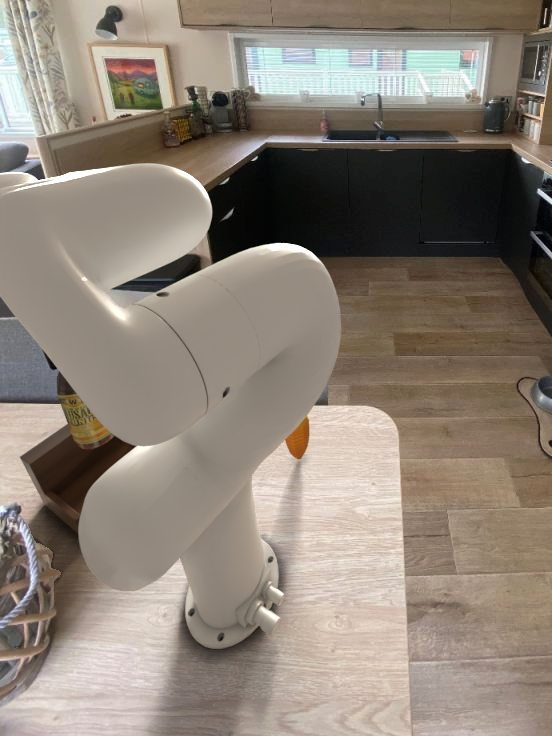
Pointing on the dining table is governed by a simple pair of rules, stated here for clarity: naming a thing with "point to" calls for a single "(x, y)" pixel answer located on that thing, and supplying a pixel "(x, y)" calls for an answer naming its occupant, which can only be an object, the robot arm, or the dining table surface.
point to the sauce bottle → (80, 418)
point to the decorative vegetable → (299, 439)
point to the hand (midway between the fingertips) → (72, 368)
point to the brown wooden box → (69, 471)
